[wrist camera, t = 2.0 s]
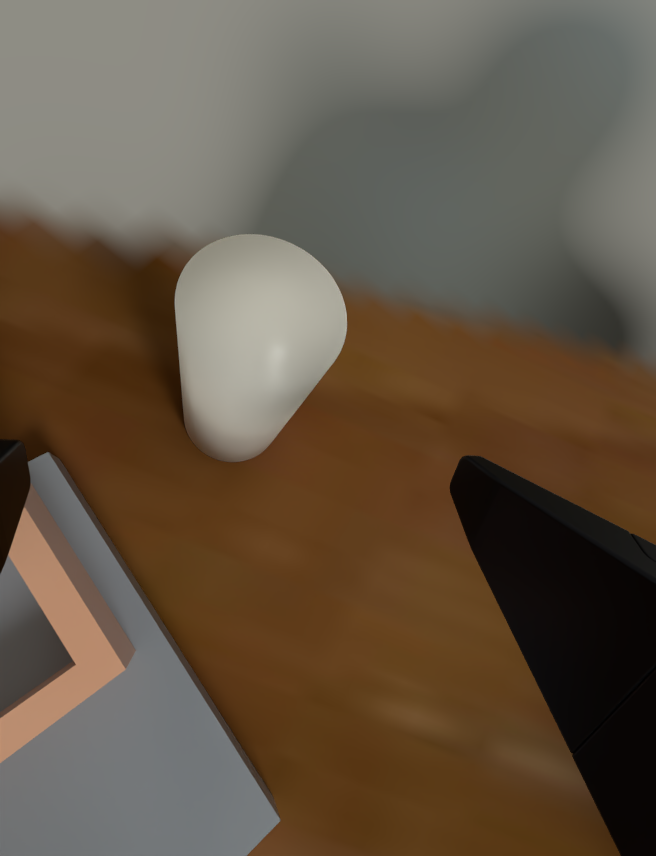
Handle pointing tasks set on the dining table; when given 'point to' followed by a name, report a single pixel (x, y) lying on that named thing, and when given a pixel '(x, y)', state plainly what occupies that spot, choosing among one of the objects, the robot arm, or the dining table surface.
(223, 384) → the candle
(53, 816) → the candle stand
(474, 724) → the dining table surface
